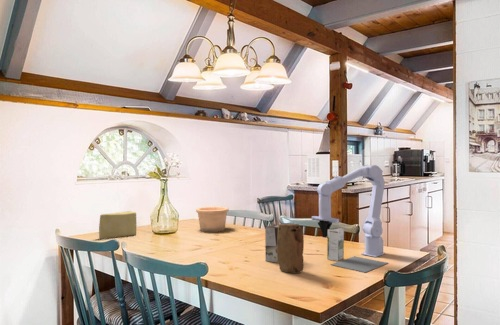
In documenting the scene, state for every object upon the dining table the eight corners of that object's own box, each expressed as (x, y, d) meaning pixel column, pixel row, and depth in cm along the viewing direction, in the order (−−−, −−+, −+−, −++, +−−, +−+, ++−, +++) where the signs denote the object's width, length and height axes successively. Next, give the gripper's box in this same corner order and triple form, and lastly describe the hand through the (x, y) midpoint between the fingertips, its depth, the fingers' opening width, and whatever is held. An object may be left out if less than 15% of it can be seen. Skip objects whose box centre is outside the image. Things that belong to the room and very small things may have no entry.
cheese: (102, 240, 232) (102, 215, 231) (96, 238, 239) (96, 213, 239) (137, 235, 247) (136, 211, 247) (130, 233, 254) (129, 210, 254)
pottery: (203, 234, 248) (203, 211, 248) (191, 228, 267) (191, 208, 267) (234, 230, 258) (233, 209, 258) (220, 226, 277) (220, 206, 277)
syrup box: (332, 257, 187) (332, 227, 187) (344, 259, 183) (343, 228, 183) (327, 259, 183) (326, 228, 182) (338, 261, 179) (338, 230, 179)
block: (275, 269, 166) (275, 223, 166) (287, 266, 171) (287, 221, 171) (295, 275, 158) (294, 226, 158) (306, 271, 163) (306, 224, 163)
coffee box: (277, 262, 178) (277, 227, 178) (265, 261, 181) (264, 226, 181) (286, 258, 186) (285, 224, 186) (274, 256, 189) (273, 223, 189)
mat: (354, 256, 187) (354, 256, 187) (388, 263, 175) (388, 262, 175) (330, 265, 173) (330, 264, 173) (365, 272, 161) (365, 272, 161)
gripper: (307, 207, 189) (307, 235, 189) (332, 210, 179) (333, 240, 179) (316, 206, 194) (316, 233, 194) (341, 209, 184) (341, 237, 184)
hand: (325, 236), depth 187 cm, fingers closed
